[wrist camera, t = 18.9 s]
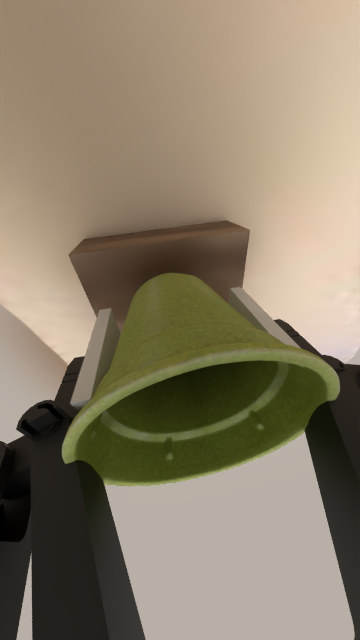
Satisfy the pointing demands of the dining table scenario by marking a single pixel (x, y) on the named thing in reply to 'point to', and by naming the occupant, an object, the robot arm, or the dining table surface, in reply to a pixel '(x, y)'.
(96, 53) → the dining table surface
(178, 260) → the walnut board
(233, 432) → the plant pot
